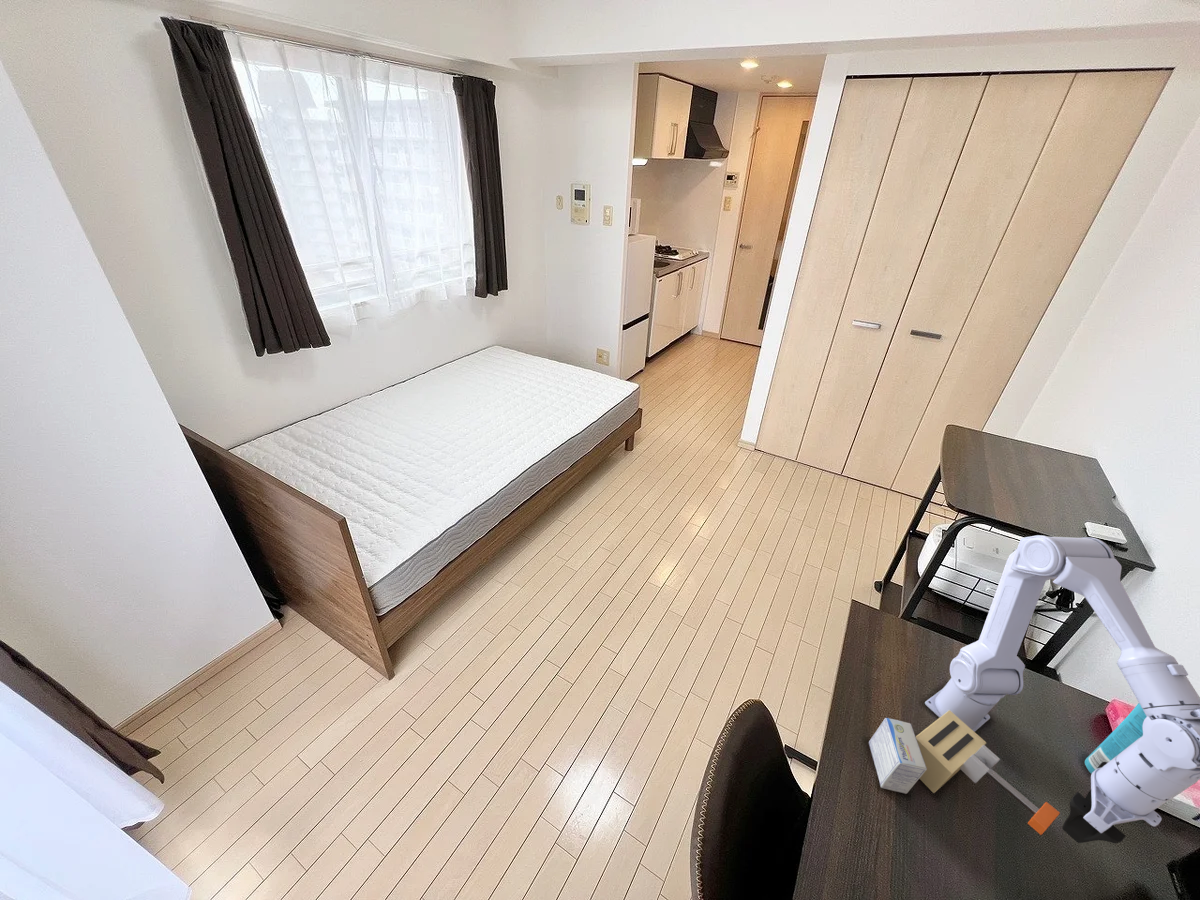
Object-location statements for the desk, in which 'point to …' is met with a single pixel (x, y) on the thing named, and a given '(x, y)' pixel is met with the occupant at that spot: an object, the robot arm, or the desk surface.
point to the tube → (1118, 739)
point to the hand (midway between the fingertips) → (1082, 820)
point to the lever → (1027, 803)
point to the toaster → (952, 752)
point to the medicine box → (897, 755)
